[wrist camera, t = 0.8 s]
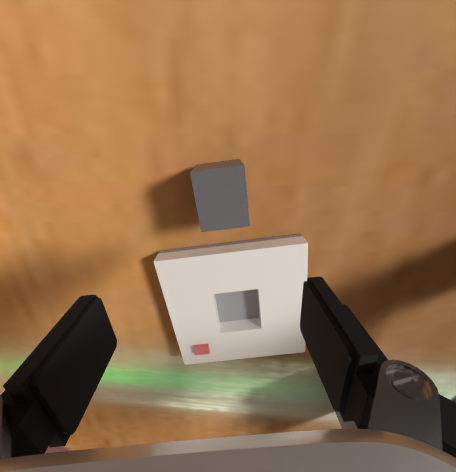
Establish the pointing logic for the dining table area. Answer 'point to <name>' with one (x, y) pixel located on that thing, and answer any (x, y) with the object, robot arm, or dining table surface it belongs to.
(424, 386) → the robot arm
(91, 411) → the dining table surface
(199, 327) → the socket
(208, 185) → the plug
